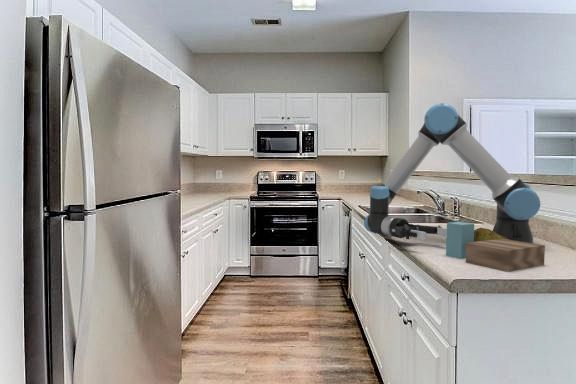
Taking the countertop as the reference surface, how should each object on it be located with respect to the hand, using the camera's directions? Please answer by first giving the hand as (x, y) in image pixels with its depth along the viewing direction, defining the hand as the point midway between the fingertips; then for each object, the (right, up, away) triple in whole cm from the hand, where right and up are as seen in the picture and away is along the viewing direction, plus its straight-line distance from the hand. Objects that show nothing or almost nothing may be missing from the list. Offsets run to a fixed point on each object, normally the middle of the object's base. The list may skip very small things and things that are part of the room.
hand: (439, 234), depth 150 cm
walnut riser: (+14, -7, -17) cm, 23 cm away
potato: (+19, -6, +3) cm, 21 cm away
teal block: (+4, -6, -7) cm, 10 cm away
